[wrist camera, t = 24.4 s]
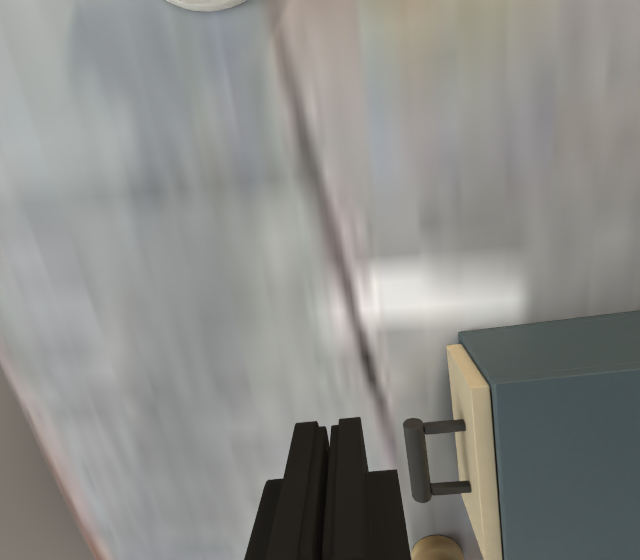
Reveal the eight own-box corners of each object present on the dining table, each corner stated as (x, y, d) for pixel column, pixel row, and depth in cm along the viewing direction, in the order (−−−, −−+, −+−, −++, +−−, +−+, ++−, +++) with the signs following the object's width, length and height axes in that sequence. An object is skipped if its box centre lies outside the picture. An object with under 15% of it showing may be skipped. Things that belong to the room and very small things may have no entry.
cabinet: (472, 489, 36) (509, 584, 27) (458, 331, 32) (494, 383, 24) (654, 476, 34) (752, 572, 26) (658, 308, 31) (771, 355, 22)
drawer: (410, 496, 35) (423, 569, 29) (391, 351, 32) (400, 394, 26) (631, 479, 33) (700, 553, 27) (633, 323, 30) (710, 362, 24)
